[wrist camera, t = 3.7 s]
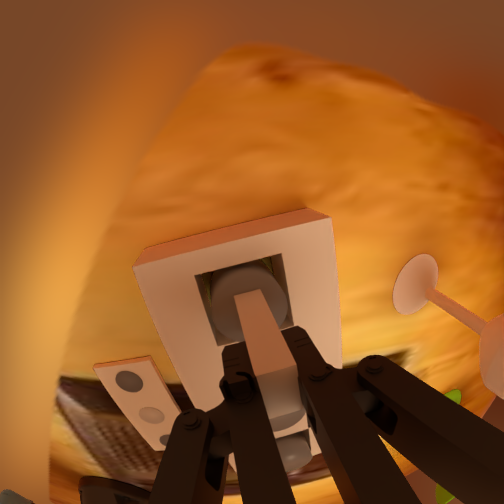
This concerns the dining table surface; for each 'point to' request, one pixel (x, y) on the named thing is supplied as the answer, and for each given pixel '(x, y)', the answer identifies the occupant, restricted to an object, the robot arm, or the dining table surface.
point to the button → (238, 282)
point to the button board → (232, 253)
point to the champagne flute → (423, 289)
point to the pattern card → (141, 397)
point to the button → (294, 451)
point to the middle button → (286, 420)
